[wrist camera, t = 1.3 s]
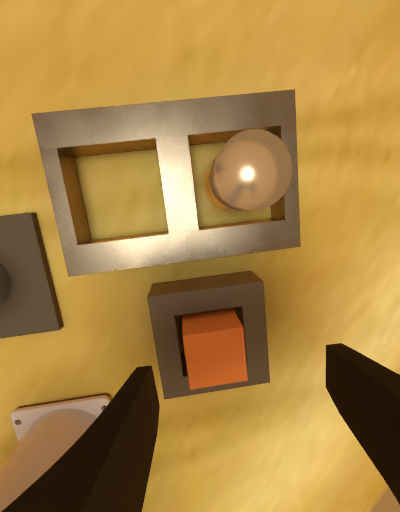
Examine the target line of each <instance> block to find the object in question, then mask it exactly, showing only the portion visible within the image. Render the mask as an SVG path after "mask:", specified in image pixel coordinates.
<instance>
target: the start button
mask: <svg viewBox="0 0 400 512" xmlns="http://www.w3.org/2000/svg"><path fill="white" fill-rule="evenodd" d="M182 331H183V343H184V350H185V357H186V364H187V371H188V378H189V385H190V390H192V389H198V388H204V387H211V386H217V385H223V384H229V383H236V382H242V381H248V377H247V366H246V354H245V343H244V331H243V326H242V324H241V322H240V320H239V319H238V317H237V315H236V313H235V311H234V309H233V308H231V309H224V310H217V311H210V312H203V313H196V314H189V315H182Z"/></svg>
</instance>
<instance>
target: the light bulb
mask: <svg viewBox="0 0 400 512" xmlns="http://www.w3.org/2000/svg"><path fill="white" fill-rule="evenodd" d="M291 176H292V161H291V156H290V154H289V151H288V149H287V147H286V146H285V144H284V143H283V142H282V141H281V140H280V139H279V138H278V137H277V136H276V135H274V134H273V133H271V132H268V131H265V130H261V129H249V130H245V131H242V132H240V133H238V134H236V135H235V136H233V137H232V138H231V139H230V140H228V142H227V143H226V144H225V145H224V147H223V148H222V150H221V151H220V153H219V154H218V156H217V157H216V159H215V160H214V162H213V163H212V165H211V166H210V168H209V169H208V171H207V173H206V177H205V190H206V194H207V196H208V198H209V199H210V201H211V202H212V203H213V204H214V205H216V206H217V207H219V208H221V209H224V210H260V209H264V208H267V207H269V206H271V205H273V204H274V203H276V202H277V201H278V200H279V199H280V198H281V197H282V196H283V194H284V193H285V192H286V190H287V188H288V186H289V183H290V180H291Z"/></svg>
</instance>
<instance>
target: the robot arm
mask: <svg viewBox="0 0 400 512" xmlns="http://www.w3.org/2000/svg"><path fill="white" fill-rule="evenodd" d="M326 388H327V390H328V392H329V394H330V396H331V398H332V400H333V402H334V404H335V406H336V407H337V409H338V411H339V413H340V414H341V416H342V418H343V419H344V421H345V422H346V424H347V425H348V427H349V428H350V430H351V431H352V433H353V434H354V436H355V437H356V439H357V440H358V441H359V443H360V444H361V446H362V447H363V449H364V450H365V452H366V453H367V455H368V456H369V458H370V459H371V461H372V462H373V464H374V465H375V467H376V468H377V469H378V471H379V472H380V474H381V475H382V477H383V478H384V480H385V481H386V483H387V485H388V486H389V488H390V489H391V491H392V492H393V494H394V496H395V497H396V499H397V501H398V502H399V504H400V375H399V374H397V373H395V372H393V371H391V370H389V369H388V368H386V367H384V366H382V365H380V364H379V363H377V362H375V361H373V360H371V359H370V358H368V357H366V356H364V355H362V354H361V353H359V352H357V351H355V350H353V349H351V348H350V347H348V346H346V345H344V344H342V343H339V344H331V345H326ZM103 406H106V407H103ZM159 407H160V406H159V401H158V395H157V390H156V385H155V380H154V375H153V370H152V366H144V367H137V368H136V369H135V370H134V372H133V373H132V374H131V375H130V377H129V378H128V379H127V381H126V382H125V383H124V385H123V386H122V387H121V389H120V390H119V391H118V392H117V394H116V395H115V396H114V398H113V399H112V400H110V398H109V397H108V396H107V395H100V396H94V397H88V398H81V399H75V400H69V401H62V402H56V403H49V404H43V405H37V406H30V407H24V408H18V409H15V410H14V411H13V412H12V413H11V415H10V417H11V421H12V424H13V427H14V430H15V433H16V437H17V440H18V445H17V446H16V448H15V449H14V451H13V452H12V454H11V455H10V456H9V458H8V459H7V461H6V462H5V464H4V465H3V466H2V468H1V469H0V512H142V507H143V502H144V497H145V492H146V487H147V482H148V477H149V472H150V467H151V462H152V457H153V452H154V447H155V442H156V437H157V429H158V419H159ZM20 420H21V421H20Z"/></svg>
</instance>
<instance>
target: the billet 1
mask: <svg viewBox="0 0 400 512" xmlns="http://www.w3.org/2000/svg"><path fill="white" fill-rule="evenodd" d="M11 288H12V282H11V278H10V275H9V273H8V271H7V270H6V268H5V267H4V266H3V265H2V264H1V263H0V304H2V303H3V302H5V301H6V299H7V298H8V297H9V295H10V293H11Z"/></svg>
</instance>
